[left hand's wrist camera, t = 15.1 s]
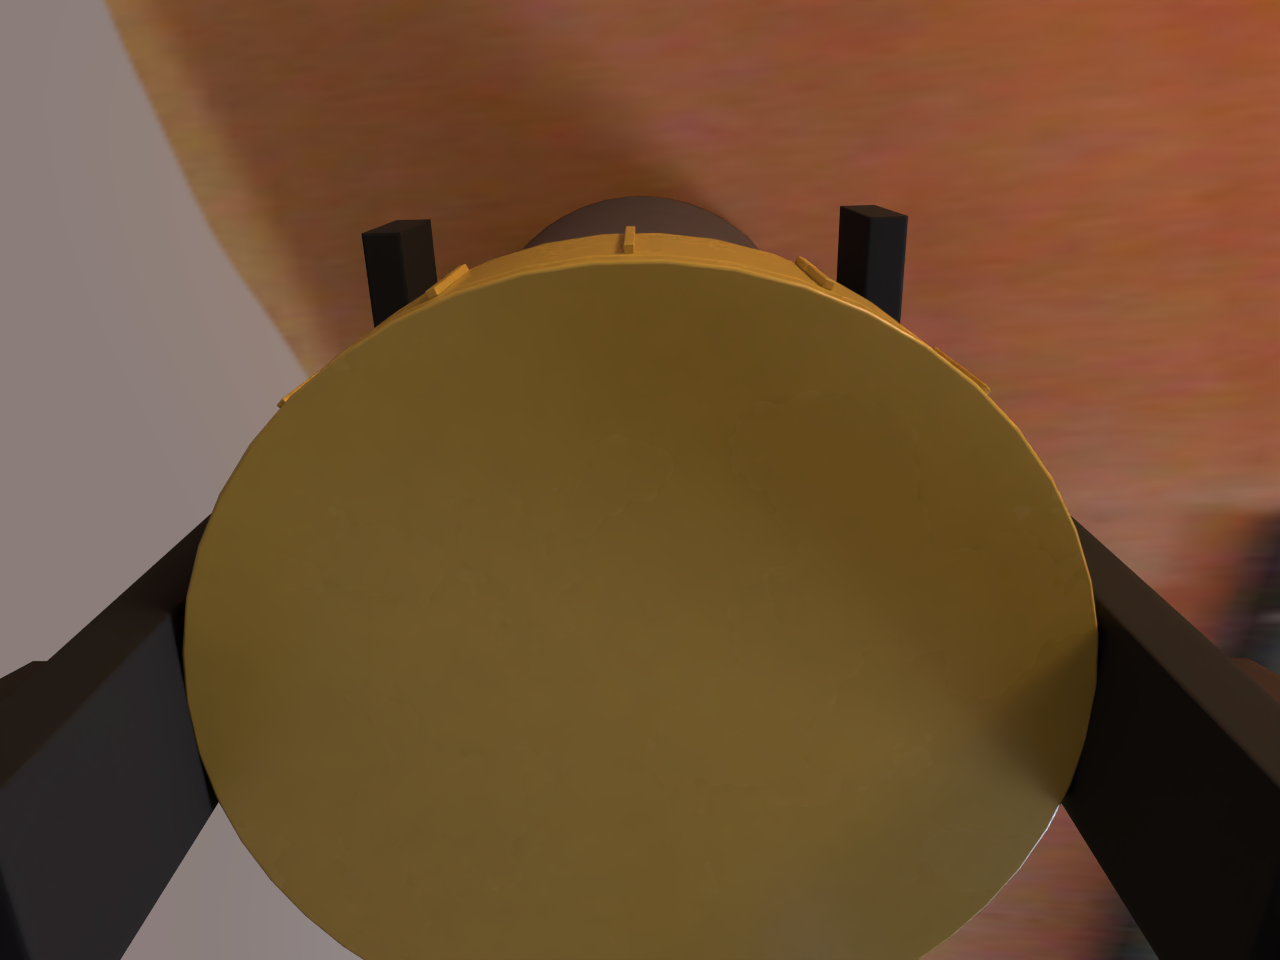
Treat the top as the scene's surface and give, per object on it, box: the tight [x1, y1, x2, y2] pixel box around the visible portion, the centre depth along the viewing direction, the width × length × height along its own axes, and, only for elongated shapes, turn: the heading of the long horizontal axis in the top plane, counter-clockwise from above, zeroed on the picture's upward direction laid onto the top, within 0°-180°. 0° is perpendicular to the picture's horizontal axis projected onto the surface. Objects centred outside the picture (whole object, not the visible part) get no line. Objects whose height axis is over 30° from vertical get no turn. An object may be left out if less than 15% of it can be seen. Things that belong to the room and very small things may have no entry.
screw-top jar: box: [521, 196, 759, 251], centre depth 19 cm, size 9×9×17 cm
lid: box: [182, 226, 1098, 960], centre depth 11 cm, size 10×10×2 cm
